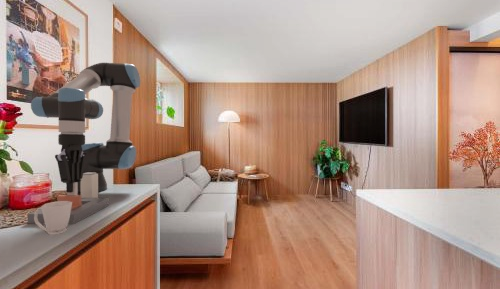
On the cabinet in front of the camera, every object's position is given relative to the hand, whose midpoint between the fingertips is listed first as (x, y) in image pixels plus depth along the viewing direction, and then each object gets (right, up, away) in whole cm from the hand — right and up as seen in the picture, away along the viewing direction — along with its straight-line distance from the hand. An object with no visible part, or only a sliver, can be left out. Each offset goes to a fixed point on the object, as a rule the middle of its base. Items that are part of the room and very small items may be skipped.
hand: (72, 200), depth 86 cm
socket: (0, -5, 0) cm, 5 cm away
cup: (+5, -6, -15) cm, 17 cm away
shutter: (0, -2, -4) cm, 4 cm away
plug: (-5, -4, +17) cm, 18 cm away
